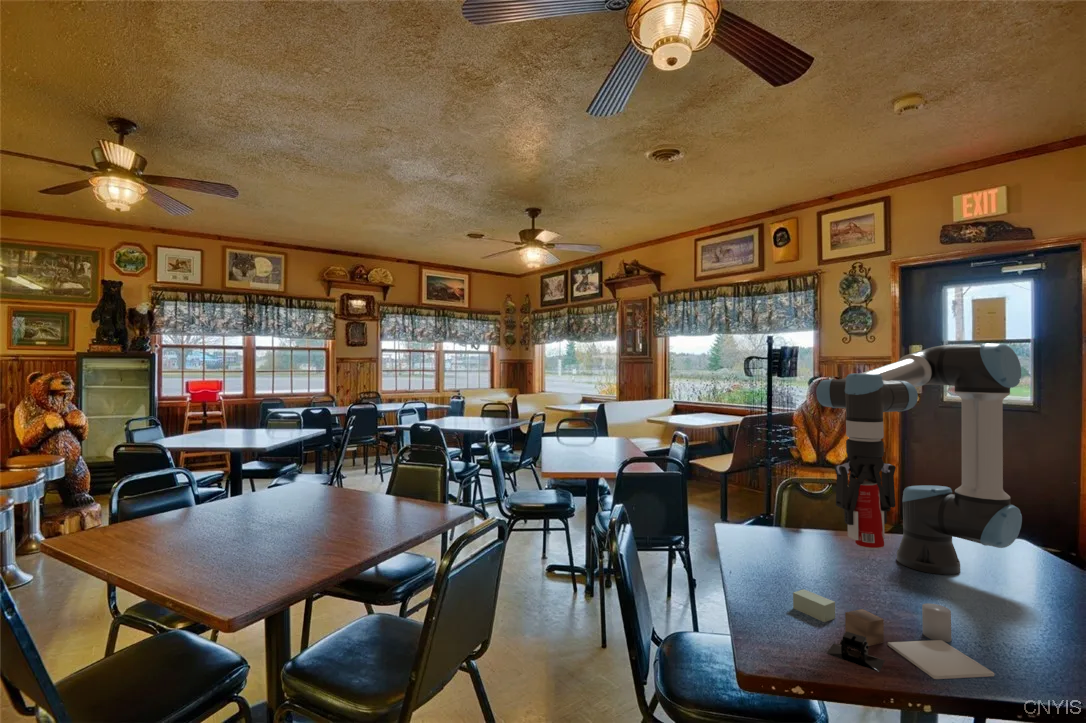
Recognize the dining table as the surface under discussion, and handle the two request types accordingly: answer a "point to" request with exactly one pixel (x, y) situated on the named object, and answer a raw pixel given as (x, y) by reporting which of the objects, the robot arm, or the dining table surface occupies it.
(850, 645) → the black angular piece
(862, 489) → the beverage can
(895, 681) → the dining table surface
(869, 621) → the walnut block
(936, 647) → the tile
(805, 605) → the sage brick
